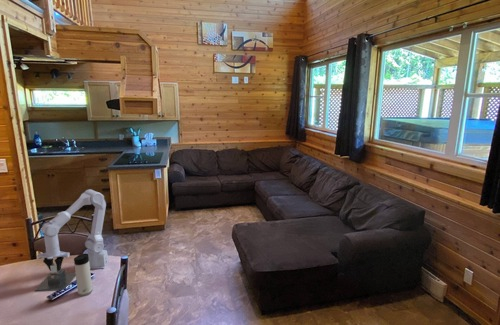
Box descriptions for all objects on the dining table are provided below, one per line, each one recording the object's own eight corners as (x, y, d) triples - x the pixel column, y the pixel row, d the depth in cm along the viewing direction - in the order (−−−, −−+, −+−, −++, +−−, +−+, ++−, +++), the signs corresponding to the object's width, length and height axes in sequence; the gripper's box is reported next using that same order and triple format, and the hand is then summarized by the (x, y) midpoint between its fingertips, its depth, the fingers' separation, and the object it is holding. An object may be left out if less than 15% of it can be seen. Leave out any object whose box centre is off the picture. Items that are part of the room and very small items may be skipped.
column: (61, 278, 159) (59, 262, 157) (58, 282, 156) (56, 265, 154) (55, 278, 159) (53, 262, 157) (52, 282, 156) (49, 265, 154)
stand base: (77, 273, 165) (76, 264, 164) (65, 289, 151) (63, 279, 150) (50, 274, 163) (48, 265, 162) (35, 291, 150) (33, 281, 149)
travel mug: (86, 297, 146) (82, 259, 142) (75, 295, 147) (70, 258, 143) (95, 289, 152) (91, 253, 148) (84, 287, 153) (80, 251, 149)
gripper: (32, 250, 148) (36, 275, 151) (63, 249, 150) (66, 273, 153) (40, 243, 155) (43, 267, 158) (70, 242, 157) (73, 266, 160)
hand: (55, 270), depth 156 cm, fingers closed on column, 3 cm apart
